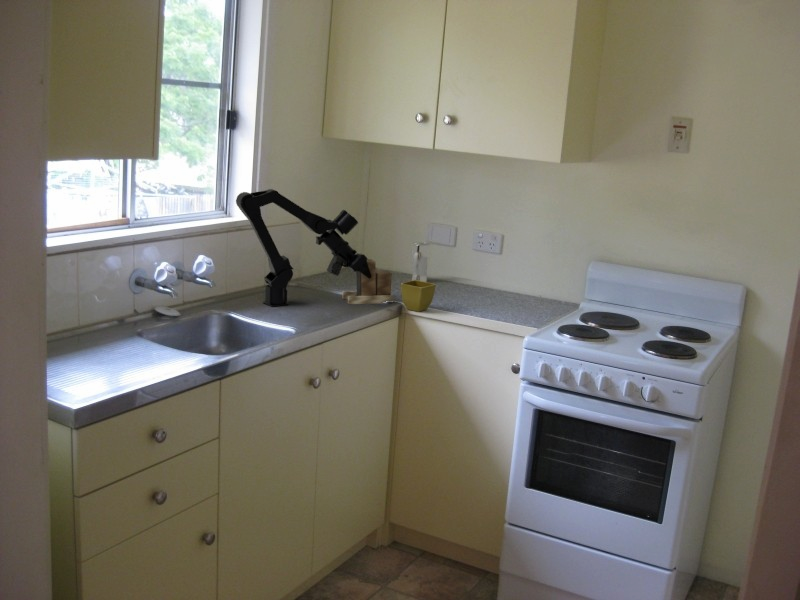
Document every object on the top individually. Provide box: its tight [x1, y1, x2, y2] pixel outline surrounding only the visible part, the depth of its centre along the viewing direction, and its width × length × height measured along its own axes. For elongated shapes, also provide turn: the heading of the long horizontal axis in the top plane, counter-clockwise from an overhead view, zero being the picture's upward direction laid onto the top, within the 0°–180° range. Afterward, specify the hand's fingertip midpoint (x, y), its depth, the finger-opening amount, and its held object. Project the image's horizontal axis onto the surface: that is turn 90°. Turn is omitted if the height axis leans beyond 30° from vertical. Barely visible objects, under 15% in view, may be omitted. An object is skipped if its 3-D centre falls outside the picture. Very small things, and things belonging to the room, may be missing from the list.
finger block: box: [355, 258, 377, 296], centre depth 306 cm, size 5×5×14 cm
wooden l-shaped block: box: [341, 270, 395, 305], centre depth 307 cm, size 16×9×10 cm, turn 108°
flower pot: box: [400, 279, 437, 313], centre depth 298 cm, size 9×9×9 cm
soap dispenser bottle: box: [410, 241, 431, 282], centre depth 342 cm, size 7×7×15 cm
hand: (367, 276), depth 306 cm, fingers open, 7 cm apart
